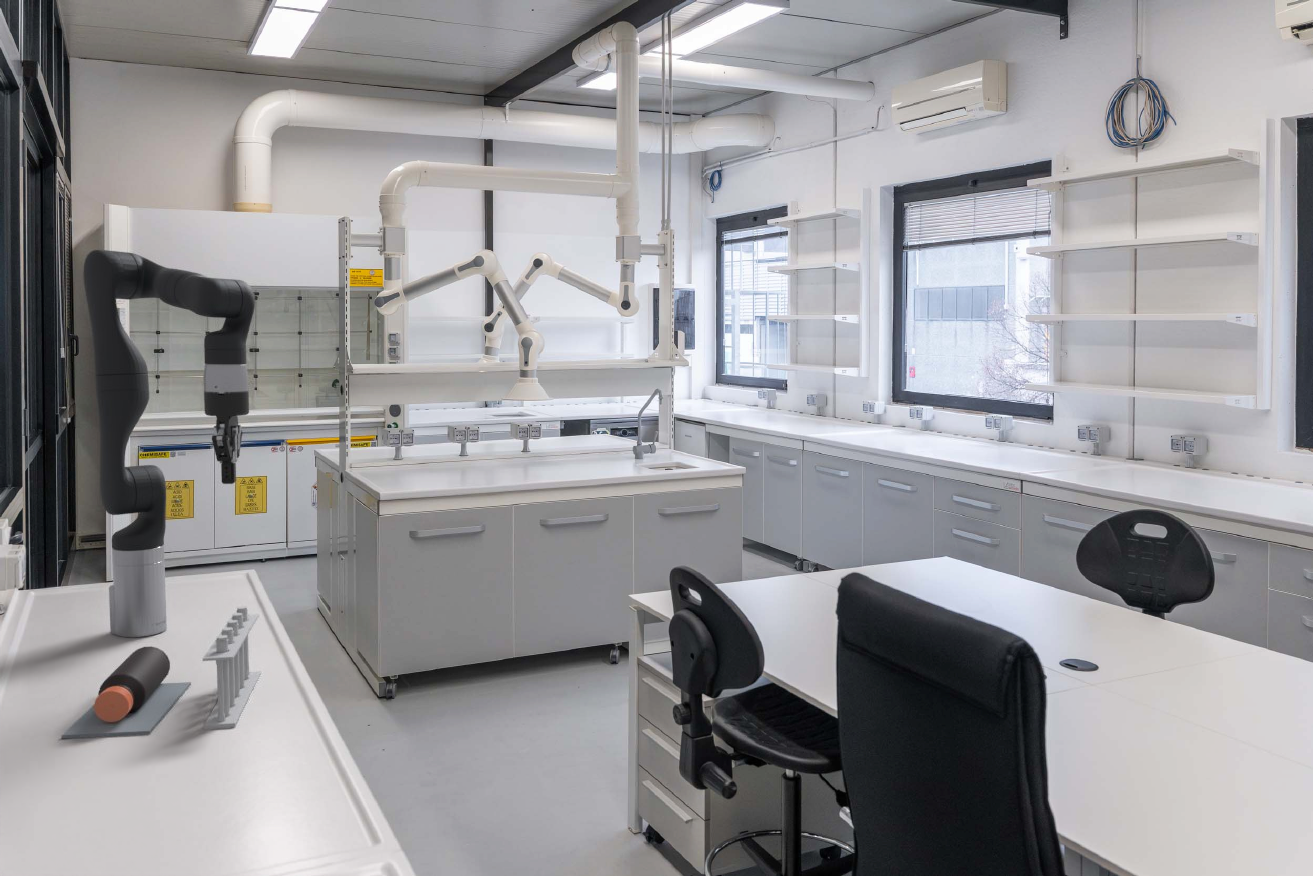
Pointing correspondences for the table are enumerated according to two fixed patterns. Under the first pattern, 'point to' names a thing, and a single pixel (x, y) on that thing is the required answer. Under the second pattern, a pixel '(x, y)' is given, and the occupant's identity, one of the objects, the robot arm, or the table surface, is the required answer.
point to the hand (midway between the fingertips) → (228, 483)
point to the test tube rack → (232, 670)
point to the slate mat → (130, 716)
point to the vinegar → (131, 684)
